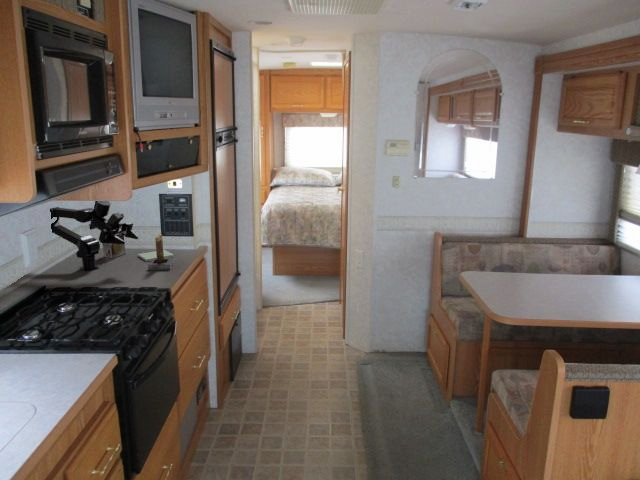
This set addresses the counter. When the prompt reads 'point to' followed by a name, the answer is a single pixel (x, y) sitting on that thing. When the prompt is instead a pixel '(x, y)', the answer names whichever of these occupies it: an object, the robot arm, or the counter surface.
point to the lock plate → (161, 264)
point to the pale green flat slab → (154, 255)
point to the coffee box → (114, 248)
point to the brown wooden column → (159, 249)
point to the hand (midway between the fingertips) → (131, 240)
